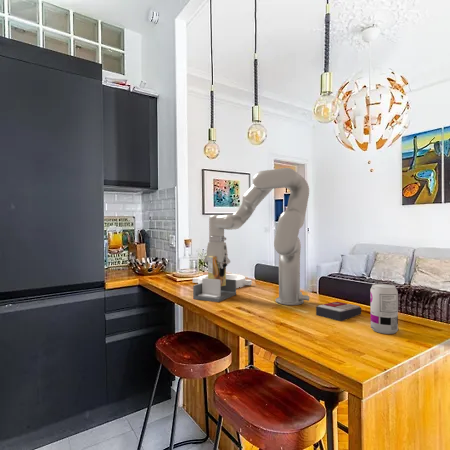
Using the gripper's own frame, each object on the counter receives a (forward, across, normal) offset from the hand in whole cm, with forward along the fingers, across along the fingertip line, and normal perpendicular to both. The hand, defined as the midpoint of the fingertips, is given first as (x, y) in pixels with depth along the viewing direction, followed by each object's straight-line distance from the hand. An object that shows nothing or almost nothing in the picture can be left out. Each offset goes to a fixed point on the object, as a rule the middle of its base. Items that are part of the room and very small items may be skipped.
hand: (216, 275), depth 161 cm
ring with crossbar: (+11, +13, -27) cm, 32 cm away
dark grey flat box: (+11, -60, +6) cm, 61 cm away
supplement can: (+10, -76, +19) cm, 79 cm away
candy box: (+6, 0, 0) cm, 6 cm away
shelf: (+10, 0, +2) cm, 10 cm away
